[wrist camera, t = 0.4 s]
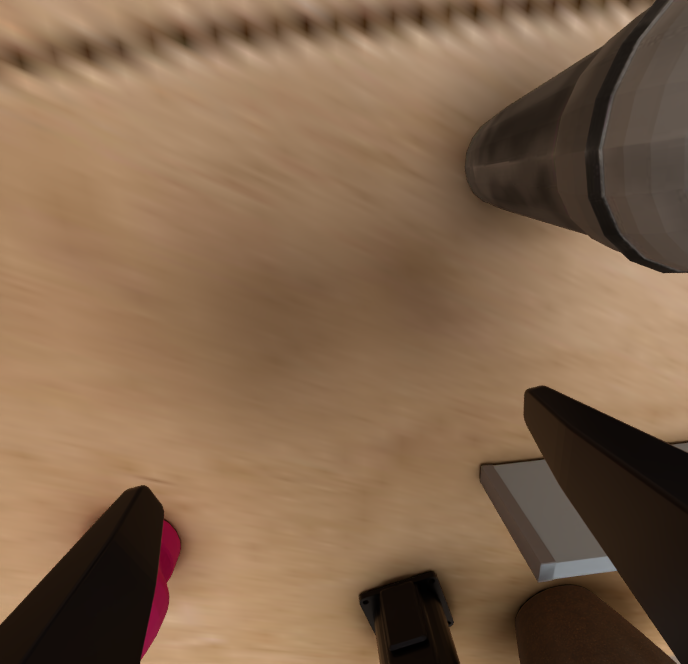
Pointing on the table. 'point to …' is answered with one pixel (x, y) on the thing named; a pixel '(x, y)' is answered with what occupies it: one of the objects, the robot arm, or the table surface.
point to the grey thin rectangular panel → (544, 520)
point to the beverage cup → (602, 144)
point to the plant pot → (579, 631)
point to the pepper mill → (162, 582)
